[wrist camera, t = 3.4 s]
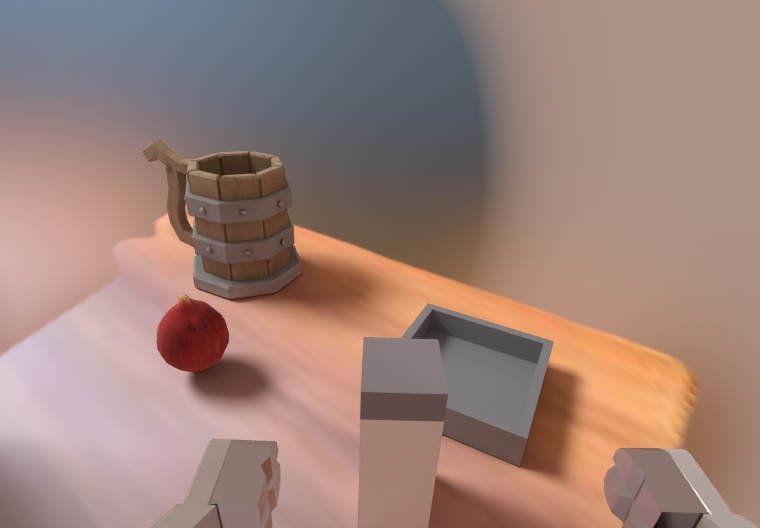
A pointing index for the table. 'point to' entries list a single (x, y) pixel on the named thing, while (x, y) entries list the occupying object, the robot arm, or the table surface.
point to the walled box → (486, 379)
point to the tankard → (232, 219)
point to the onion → (192, 335)
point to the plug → (400, 431)
